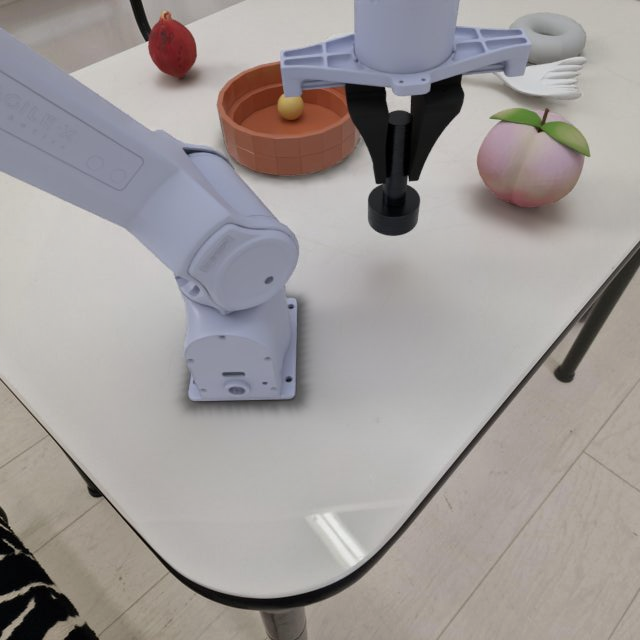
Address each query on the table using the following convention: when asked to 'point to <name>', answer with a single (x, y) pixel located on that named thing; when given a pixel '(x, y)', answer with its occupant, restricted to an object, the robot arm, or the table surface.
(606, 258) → the table surface
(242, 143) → the bowl
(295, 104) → the ball
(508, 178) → the decorative fruit
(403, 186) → the black joystick
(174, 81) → the table surface
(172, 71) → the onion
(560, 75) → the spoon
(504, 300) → the table surface
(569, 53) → the donut
